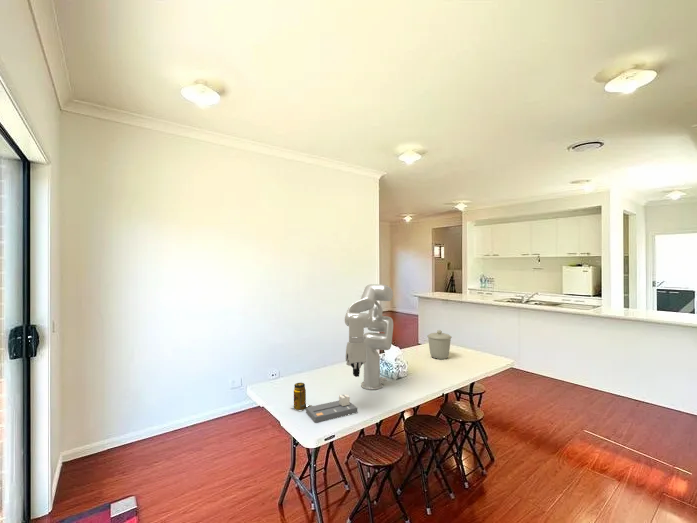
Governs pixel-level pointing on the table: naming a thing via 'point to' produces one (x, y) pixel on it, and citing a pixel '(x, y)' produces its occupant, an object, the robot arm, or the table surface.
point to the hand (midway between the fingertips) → (356, 375)
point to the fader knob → (344, 400)
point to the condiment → (300, 396)
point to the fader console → (329, 411)
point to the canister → (439, 344)
